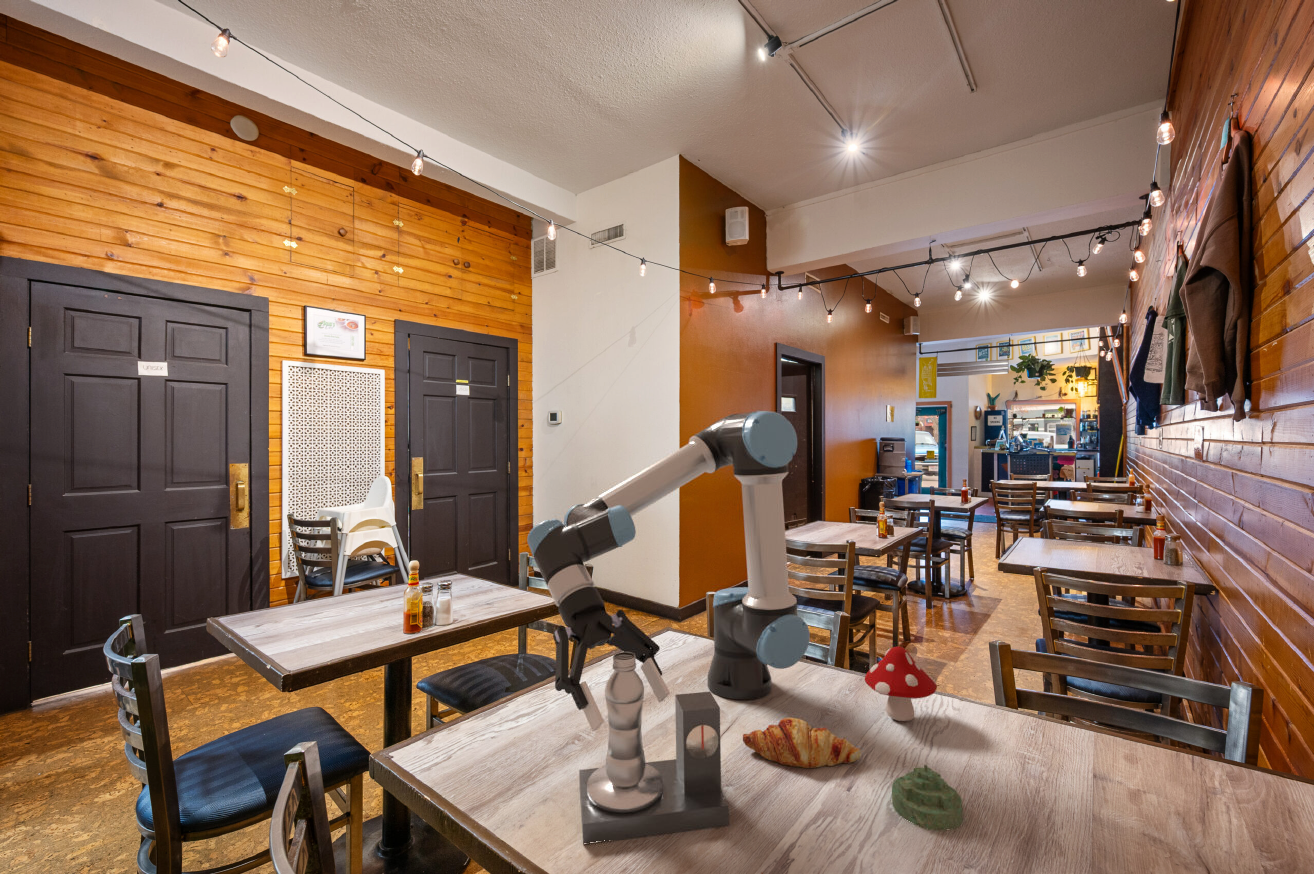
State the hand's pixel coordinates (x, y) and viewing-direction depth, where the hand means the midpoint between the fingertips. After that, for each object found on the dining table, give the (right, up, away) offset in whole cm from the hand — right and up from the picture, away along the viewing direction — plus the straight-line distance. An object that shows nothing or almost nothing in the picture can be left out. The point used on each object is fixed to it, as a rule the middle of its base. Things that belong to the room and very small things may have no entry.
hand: (633, 711), depth 89 cm
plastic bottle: (-1, -12, +2) cm, 12 cm away
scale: (+3, -16, +2) cm, 16 cm away
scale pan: (-1, -13, +2) cm, 13 cm away
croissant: (+30, -16, +16) cm, 38 cm away
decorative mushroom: (+55, -16, +30) cm, 64 cm away
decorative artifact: (+46, -16, 0) cm, 49 cm away
